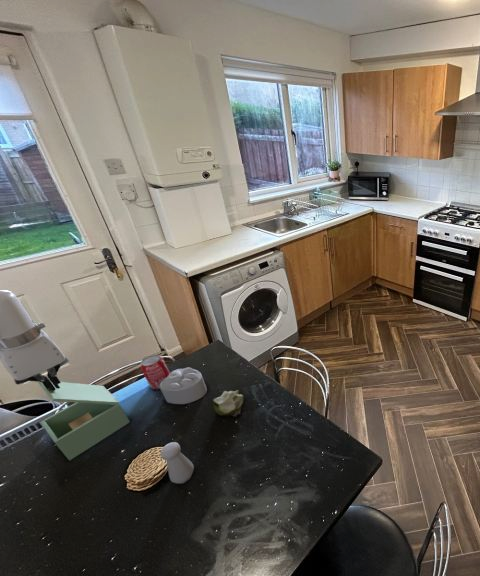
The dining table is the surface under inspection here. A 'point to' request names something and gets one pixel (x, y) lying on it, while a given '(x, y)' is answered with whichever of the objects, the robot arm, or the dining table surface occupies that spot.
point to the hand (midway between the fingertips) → (54, 387)
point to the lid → (80, 393)
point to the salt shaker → (177, 463)
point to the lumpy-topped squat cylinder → (183, 386)
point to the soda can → (154, 370)
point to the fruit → (228, 403)
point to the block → (80, 421)
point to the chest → (84, 426)
